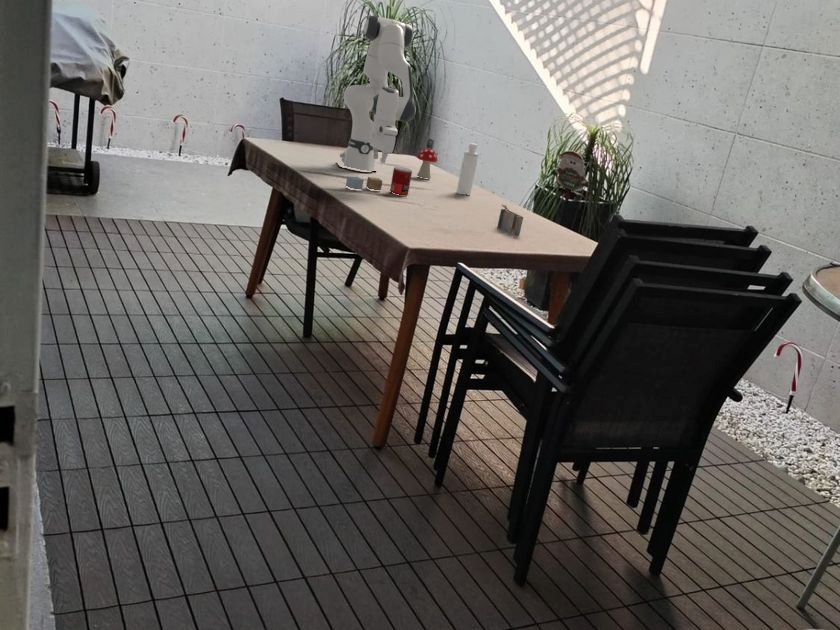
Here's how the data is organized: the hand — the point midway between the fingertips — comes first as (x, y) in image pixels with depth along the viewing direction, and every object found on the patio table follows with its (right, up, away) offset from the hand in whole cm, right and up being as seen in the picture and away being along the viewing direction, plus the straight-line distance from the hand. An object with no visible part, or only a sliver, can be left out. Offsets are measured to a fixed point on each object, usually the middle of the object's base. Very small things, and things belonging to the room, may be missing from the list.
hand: (378, 160), depth 340 cm
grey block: (-10, -13, -3) cm, 17 cm away
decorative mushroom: (+19, +2, +59) cm, 62 cm away
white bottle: (+38, -8, +38) cm, 54 cm away
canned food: (+8, -13, +7) cm, 17 cm away
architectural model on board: (+51, -33, -25) cm, 66 cm away
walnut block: (-3, -12, +4) cm, 13 cm away
